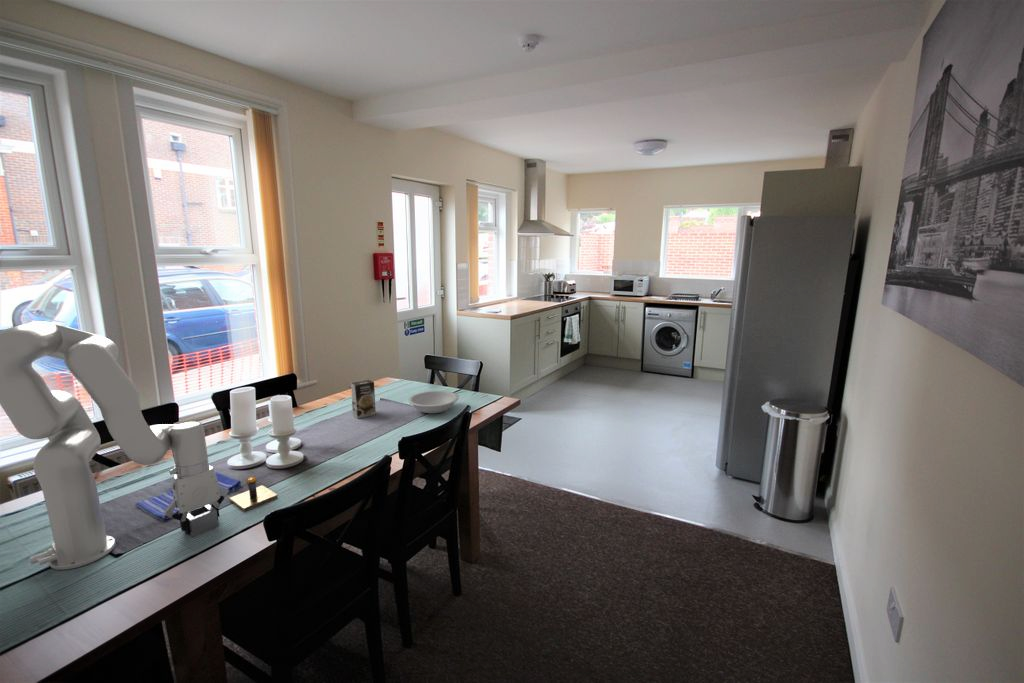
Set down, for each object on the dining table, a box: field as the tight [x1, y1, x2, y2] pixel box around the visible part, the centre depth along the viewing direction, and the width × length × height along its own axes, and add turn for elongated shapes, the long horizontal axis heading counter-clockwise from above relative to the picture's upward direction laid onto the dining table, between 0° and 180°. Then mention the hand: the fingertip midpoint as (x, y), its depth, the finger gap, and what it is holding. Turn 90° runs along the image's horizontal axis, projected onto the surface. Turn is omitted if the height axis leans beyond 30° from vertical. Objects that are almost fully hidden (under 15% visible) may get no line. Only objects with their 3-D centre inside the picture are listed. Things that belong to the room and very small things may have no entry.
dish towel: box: [135, 471, 242, 522], centre depth 148 cm, size 17×24×3 cm
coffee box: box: [350, 379, 377, 419], centre depth 219 cm, size 9×6×16 cm
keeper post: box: [229, 476, 278, 512], centre depth 145 cm, size 10×10×7 cm
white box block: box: [187, 504, 219, 538], centre depth 131 cm, size 6×6×5 cm
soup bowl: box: [407, 390, 460, 414], centre depth 225 cm, size 24×24×7 cm
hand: (201, 525), depth 131 cm, fingers closed on white box block, 6 cm apart
